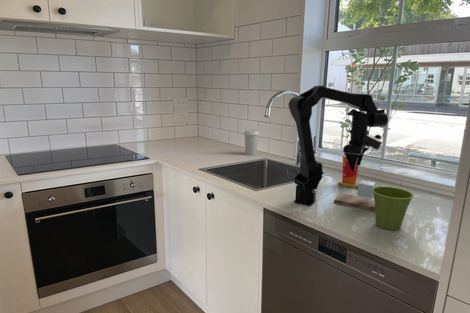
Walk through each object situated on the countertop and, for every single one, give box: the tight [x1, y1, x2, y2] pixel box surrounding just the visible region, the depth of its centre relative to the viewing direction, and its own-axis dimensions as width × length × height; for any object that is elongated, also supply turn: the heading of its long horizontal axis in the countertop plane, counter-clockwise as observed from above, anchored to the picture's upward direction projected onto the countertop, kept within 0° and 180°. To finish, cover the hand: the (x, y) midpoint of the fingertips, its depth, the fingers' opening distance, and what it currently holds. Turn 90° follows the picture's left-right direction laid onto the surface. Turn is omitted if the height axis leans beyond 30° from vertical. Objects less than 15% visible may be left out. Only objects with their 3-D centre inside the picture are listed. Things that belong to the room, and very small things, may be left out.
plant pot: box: [372, 185, 415, 231], centre depth 104 cm, size 12×12×11 cm
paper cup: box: [341, 152, 359, 185], centre depth 147 cm, size 8×8×14 cm
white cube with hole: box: [356, 179, 376, 199], centre depth 122 cm, size 5×5×5 cm
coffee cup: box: [243, 129, 260, 156], centre depth 206 cm, size 10×10×15 cm
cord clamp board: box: [333, 182, 380, 212], centre depth 123 cm, size 18×9×8 cm, turn 58°
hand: (355, 167), depth 128 cm, fingers open, 9 cm apart
